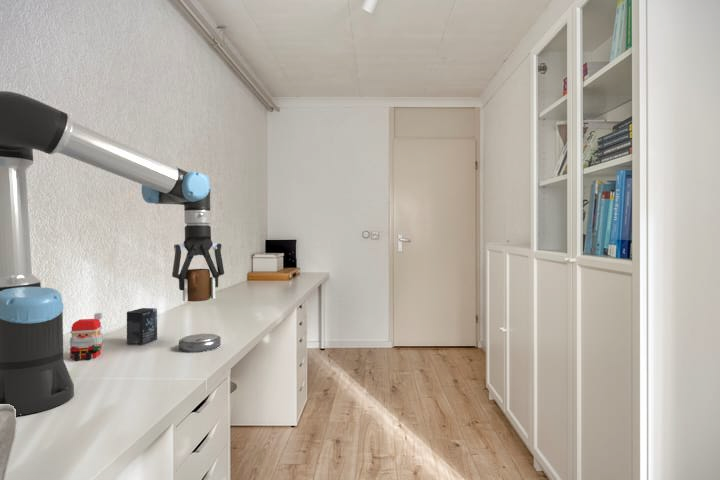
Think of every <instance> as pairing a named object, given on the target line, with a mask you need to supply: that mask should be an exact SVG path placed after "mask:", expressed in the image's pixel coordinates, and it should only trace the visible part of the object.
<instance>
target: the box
mask: <svg viewBox="0 0 720 480" xmlns="http://www.w3.org/2000/svg"><path fill="white" fill-rule="evenodd" d="M157 340H158V308H156V307H155V308H153V307H151V308H150V307H141V308H137V309H134V310H130V311H129V310H128V311H126V345H132V346H143V345H145V344H147V343H150V342H154V341H157Z"/></svg>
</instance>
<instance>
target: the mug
mask: <svg viewBox="0 0 720 480" xmlns="http://www.w3.org/2000/svg"><path fill="white" fill-rule="evenodd" d="M210 277H211V271H210V269H209V268H191V269H189V268H188V271H187V273H186V276H185V278H184V279H187V292H188V301H187V302H190V303H191V302H205V301H208V300H210V299H211V298H210Z"/></svg>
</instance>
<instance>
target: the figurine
mask: <svg viewBox="0 0 720 480" xmlns="http://www.w3.org/2000/svg"><path fill="white" fill-rule="evenodd" d="M93 316H94V317H93V318H84V319H78V320H76V321H75V322H73V323H72V326H71V330H70V334H71V337H69V342H70V343H69V351H70V353H69V357H70V359H72V360H74V362H78V361H81V360H86V361H90V360H93V359H96V358H97V357H99V355H101V353H102V351H101V350H102V347H103V344H102V343H103V332H102V331H101V330H102V329H103V326H102V325H101V324H102V323H101V320H102V319H103V312H95V313H94V315H93Z"/></svg>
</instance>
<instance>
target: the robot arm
mask: <svg viewBox="0 0 720 480" xmlns="http://www.w3.org/2000/svg"><path fill="white" fill-rule="evenodd" d="M33 150H36V151H40V152H41V153H42V152H43V153H45V154H49V155H53V154H56V153H57V154H61V155H64V156H66V157H69V158H71V159H74V160H77V161H79V162H83V163H85V164H87V165H90V166H92V167H95V168H98V169H101V170H103V171H106V172H107V173H111V174H113V175H116V176H118V177H122V178H124V179H125V180H129V181H132V182H134V183H137V184H139V185H141V196H142V199H143V200H144V202H145V203H148V204H155V205H181V206H183V207H184V208H183V211H184V216H183V217H184V224H185V226H184V241H183V243H180V244H178V243H177V244H173V248H174V260H173V265H172V273H171V277H172V278H175V279H178V289H179V291H182V302H185V303H187V302H189V301H188V292H187V279H184V278H185V276H186V273H187V271H188V270H189V267H190V265H191V263H192V260H193V258H194V257H196V256H203V258H204V260H205V262H206V265H207V266H208V269H209V270H210V274H211V275H212V276H210V299H212V300H214V299H215V300H216V288H218V287H219V278H220V277H221V276H223V275H224V274H225V269H224V263H223V258H222V252H221V251H222V243H215V242H213V241H212V229H211V225H210V224H211V222H212V221H211V183H210V182H211V181H210V176H209V175H207V174H205V173H202V172H200V171H199V172H197V171H186V170H184V169H182V168H179V167H177V166H174V165H172V164H169V163H168V162H165V161H163V160H161V159H158V158H156V157H155V156H151V155H149V154H147V153H145V152H143V151H140V150H138V149H135V148H133V147H132V146H129V145H127V144H124V143H122V142H120V141H119V140H115V139H113V138H111V137H108V136H107V135H104V134H102V133H100V132H98V131H95V130H93V129H92V128H91V129H90V128H88V127H87V126H84V125H82V124H80V123H78V122H76V121H73V120H72V118H71V116H70V115H69V114H68V113H66V112H64V111H62V110H59V109H57V108H55V107H53V106H50V105H48V104H46V103H44V102H42V101H40V100H38V99H35V98H32V97H30V96H27V95H25V94H21V93H17V92H15V91H14V92H13V91H7V90H0V404H10V405H12V406H14V408H15V409H16V416H15V417H18V415H20V414H26V415H30V413H31V414H35V412H36V413H39V412H43V411H47V410H51V409H53V408H56V407H59V406H61V405H63V404H65V403H68V402H69V401H70V400H71V399H73V397H74V396H75V386H74V385H75V384H74V382H73V379H72V378H71V374H70V373H69V370H68V368H67V366H66V363H65V361H64V325H63V324H64V323H63V322H64V320H63V319H64V317H63V316H64V314H63V313H64V312H63V311H64V303H63V298H62V297H63V296H62V294H61V293H60V292H59V290H58V289H54V288H51V287H42V285H41V284H42V283H41V280H40V278H38V277H36V276H35V275H34V274H33V273H32V271H33V270H32V269H33V268H32V254H31V252H32V251H31V238H30V234H31V233H30V221H29V220H30V219H29V205H28V201H29V200H28V188H27V187H28V185H27V170H28V168H30V167H31V166H32V165H33V164H34V151H33ZM211 248H212V249H213V250H214V259H215V263H216V266H215V264H214V262H213V261H214V260H213V259H212V256H211V254H210V249H211ZM184 249H186V251H187V253H186V257H185V259H184V261H183V263H182V267H181V269H180V266H181V259H182V252H183V250H184ZM58 405H59V406H58ZM55 406H56V407H55ZM20 416H21V415H20Z"/></svg>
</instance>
